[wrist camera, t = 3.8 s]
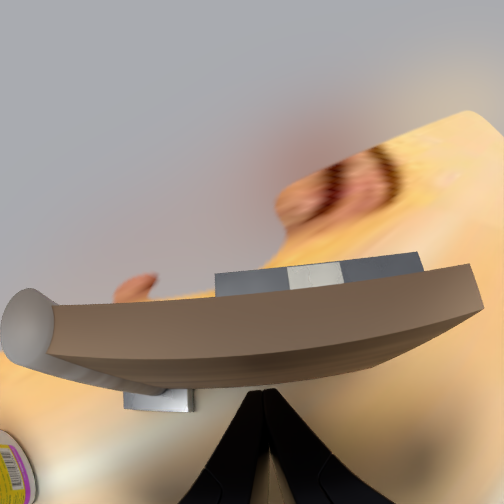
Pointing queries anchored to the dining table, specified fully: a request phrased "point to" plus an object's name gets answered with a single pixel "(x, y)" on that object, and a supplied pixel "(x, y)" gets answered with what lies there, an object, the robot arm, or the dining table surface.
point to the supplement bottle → (15, 473)
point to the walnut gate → (237, 333)
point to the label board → (278, 282)
